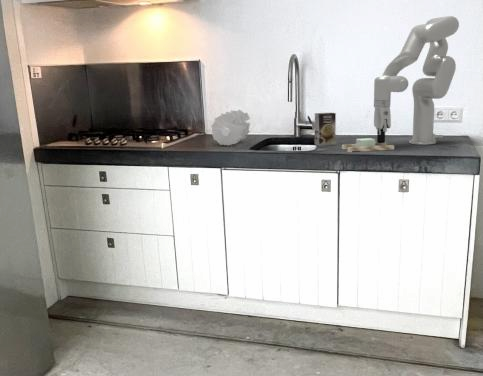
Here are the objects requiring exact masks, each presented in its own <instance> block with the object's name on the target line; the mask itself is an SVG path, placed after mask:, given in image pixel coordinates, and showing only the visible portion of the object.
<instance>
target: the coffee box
mask: <svg viewBox="0 0 483 376" xmlns="http://www.w3.org/2000/svg"><path fill="white" fill-rule="evenodd" d="M336 115H337V113H336V112H319V113H314V145H316V146H318V147H323V146H334V145H336V129H337V128H336V127H337V126H336V124H337V123H336V122H337V121H336V120H337V119H336V117H337V116H336Z"/></svg>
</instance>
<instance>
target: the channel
mask: <svg viewBox="0 0 483 376" xmlns="http://www.w3.org/2000/svg"><path fill="white" fill-rule="evenodd" d="M341 149H342V150H347V153H353V152H352V151H360V152H372V151H374V152H375V151H377V152H378V151H391V150H392V151H393V150H395V144H388V142H386V141H385V143H377V142H375V146H365V147H356V143H351V144H350V143H349V144H342V145H341Z"/></svg>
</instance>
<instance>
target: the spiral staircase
mask: <svg viewBox="0 0 483 376" xmlns="http://www.w3.org/2000/svg"><path fill="white" fill-rule="evenodd" d="M249 120H251V117H250V115H249V114H248V112H244V111H243V110H241V109H238V110H230V112H229V111H225V113H221V115H219V116H217V117H215V118H214V122H213V123H212V125H211V126H210V127H211V128H212V131H211V136H212V137H213V141H216V142H217V143H218V144H219V145H220V146H222V145H223V146H226V145H230V146H231V145H234V144H238V143H240V141H243V140H244V139H247V136H248V135H249V133H250V132H251V130H250V126H251V122H248V121H249Z"/></svg>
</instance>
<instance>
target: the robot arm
mask: <svg viewBox="0 0 483 376" xmlns="http://www.w3.org/2000/svg"><path fill="white" fill-rule="evenodd" d="M459 28H460V23H459V20H458V18H457V17H455V16H454V15H453V16H452V15H448V16H442V17H434V18H430V19H429V20H427V21H426V23H425V24H424V23H423V24H419V25H415V26H413V27H412V29H411V30H410V32H409V34H408V36H407V38H406V40H405V43H404V44H403V47H402V49H401V50H400V52H399V54H398V55H396V57H394V58H393V60H391V62H390V63H388V64H387V66H386V68H385V69H384V71H383V73H382V75H381V76H378V77H375V78H374V84H373V87H374V89H373V108H374V113H373V126H374V128H375V129H376V134H377V136H376V143H385V142H386V132H388V129H391V127H392V123H391V121H392V119H391V117H392V115H391V101H392V100H391V97H392V96H391V95H392V93H403V92H404V91H406V90H407V89H408V87H409V80H408V79H407V77H405V76H403V75H398V74H400V72H401V71H402V70H404V69H405V68H407V67H409V66H411V65H413V64H414V63H417V60H418V59H419V57H420V55H421V53H422V51H423V49H424V48H425V45H426V44H427V43H428V44H429V48H428V51H427V54H426V56H425V60H424V62H423V65H422V73H423V74H424V75H425V76H427V77H422V78H418V79H416V80H415V81H414V83H412V87H411V90H412V91H411V92H412V97H413V117H412V118H413V119H412V120H413V121H412V123H413V124H412V139H410V140H409V141H408V142H409V144H411V145H418V146H419V145H420V146H422V145H423V146H425V145H426V146H428V145H429V146H430V145H435V144H436V143H437V139H438V140H440V139H443V137H444V136H443V134H436V133H434V123H435V122H434V121H435V104H434V101H433V99H434V100H439V99H442V98H444V97H445V96H446V95H447V94H448V91H449V89H450V87H451V84H452V81H453V78H454V76H455V72H456V69H457V68H456V66H457V65H456V60H455V59H454V58H453V56H449V55H447V54H448V50H449V43H448V40H447V39H446V38H449V37H451V36H453V35H454V34H456V33H457V31H459V30H458V29H459Z"/></svg>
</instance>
